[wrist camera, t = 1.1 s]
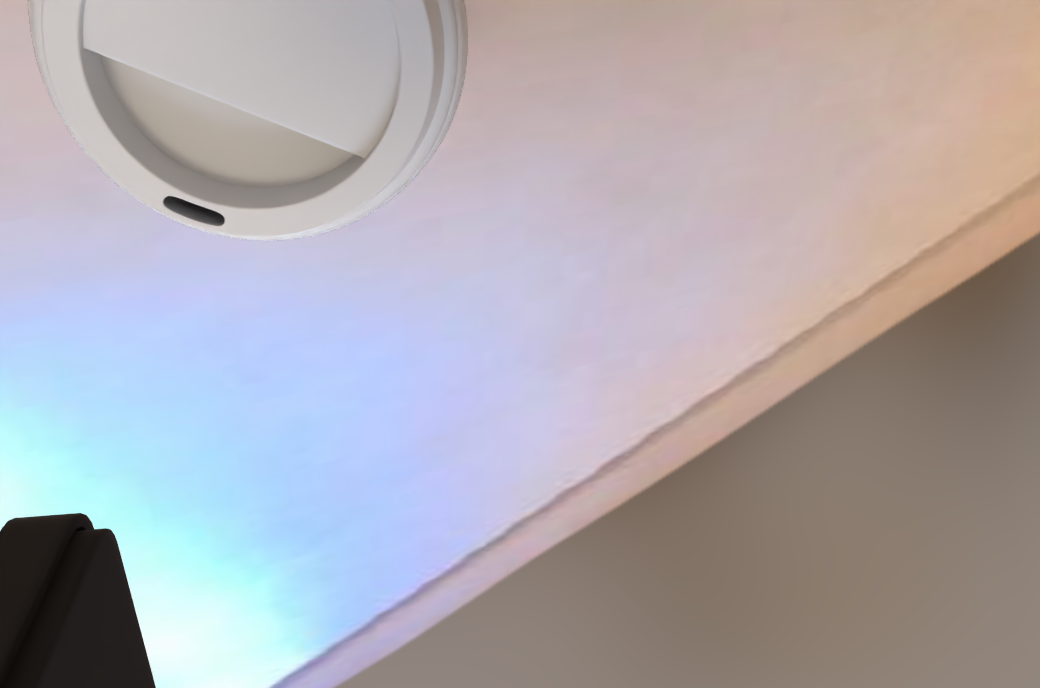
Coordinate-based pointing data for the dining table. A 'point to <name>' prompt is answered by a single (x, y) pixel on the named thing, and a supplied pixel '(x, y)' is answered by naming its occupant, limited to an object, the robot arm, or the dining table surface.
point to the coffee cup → (255, 103)
